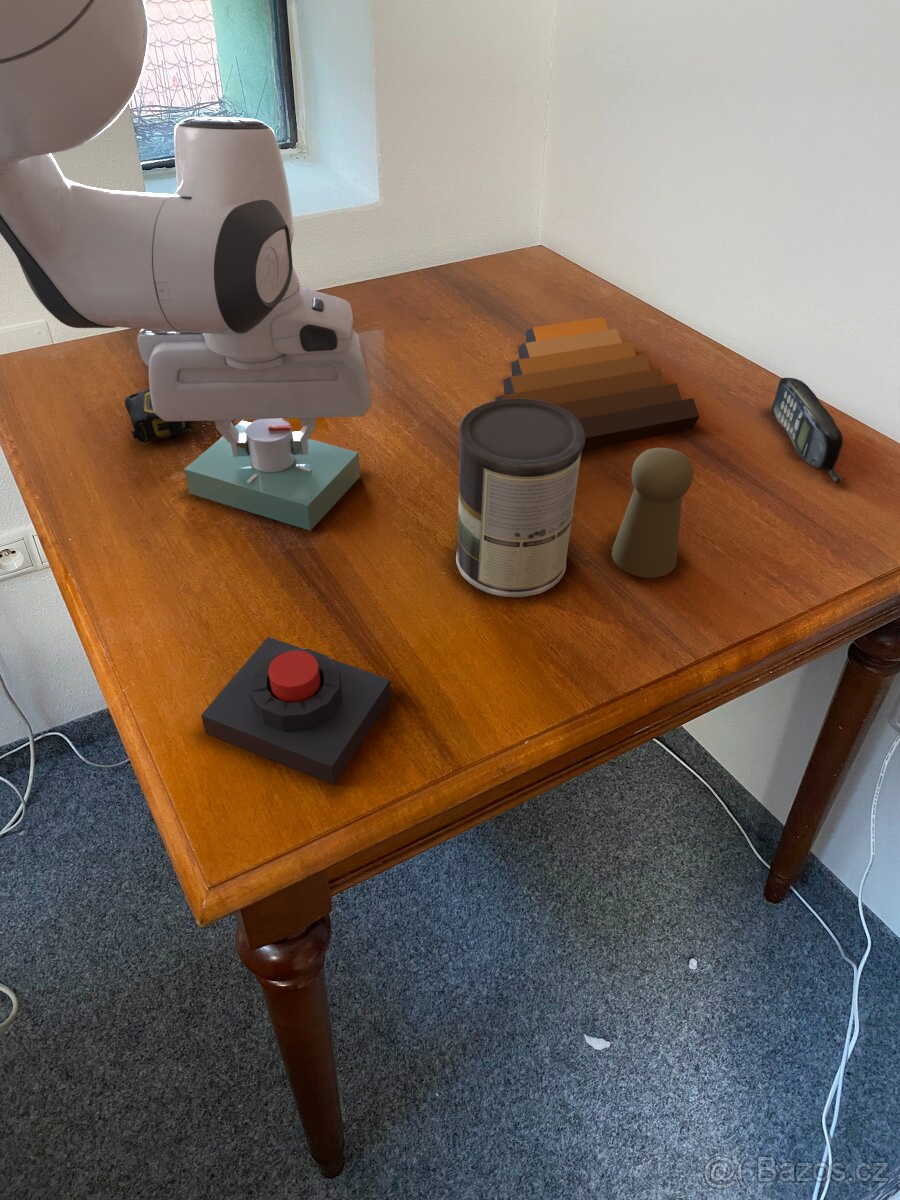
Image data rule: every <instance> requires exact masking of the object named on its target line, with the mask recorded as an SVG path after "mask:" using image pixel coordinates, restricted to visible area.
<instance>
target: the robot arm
mask: <svg viewBox="0 0 900 1200" xmlns="http://www.w3.org/2000/svg"><path fill="white" fill-rule="evenodd" d="M149 29H150V28H149V19H148V13H147V7H146V3H145V0H0V236H2V238H3V239H4V240H5V242H6V244H7V245H8V246H9V248H10V249H11V251H12V252H13V254H14V255H15V257H16V258H17V260H18V264H19V266H20V268H21V271H22V273H23V275H24V278H25V280H26V282H27V284H28V286H29V288H30V289H31V291H32V293H33V294H34V296H35V297H36V298H37V300H38V301H39V303H40V304H41V305H42V306H43V307H44V308H45V309H46V310H47V312H49V313H50V314H51V315H52V316H53V317H54V318H55V319H56V320H57V321H59V322H60V323H61V324H63V325H65V326H67V327H70V328H74V329H114V328H125V329H138V330H139V332H138V334H137V336H136V343H137V347H138V352H139V356H140V359H141V360H142V362H143V364H145V365H146V366H147V367H148V385H149V389H150V395H151V402H152V407H153V411H154V413H155V414H156V415H158V416H159V417H160V418H161V419H162V420H164V421H193V422H195V421H197V422H199V421H200V422H201V421H204V422H205V421H214V425H215V429H216V430H217V432H218V433H220V435H221V436H222V437H224V438H225V439H226V440H227V441H228V442H229V443H231V447H232V452H233V456H234V457H243V456H249V451H248V445H247V439H246V433H239V432H238V430H237V429H236V428H235V425H234V424H233V423H232V422H233V421H239V420H241V421H245V420H259V419H282V420H285V419H300V425H301V426H302V427H301V429H300V430H299V431H292V440H291V443H292V448H293V455H308V450H309V443H308V439H310V438H311V436H312V434H313V432H314V431H315V429H316V427H317V419H319V418H320V419H321V418H361V417H364V416H366V414H367V413H368V412H369V411H370V409H371V408H372V401H373V399H372V386H371V385H372V384H371V376H370V370H369V364H368V359H367V354H366V351H365V348H364V344H363V342H362V340H361V337H360V336H359V334H358V333H357V332H356V331H355V330H354V314H353V310H352V306H351V304H350V302H349V301H348V300H347V299H344V298H341V297H338V296H335V295H331V294H327V293H324V292H320V291H316V290H315V289H311V288H307V287H304V286H301V285H300V278H299V274H298V271H297V269H296V266H295V265H294V260H293V253H292V252H293V251H292V250H293V242H294V237H295V228H294V227H295V226H294V219H293V211H292V203H291V197H290V191H289V185H288V179H287V175H286V171H285V166H284V162H283V161H284V160H283V156H282V153H281V150H280V145H279V143H278V139H277V137H276V134H275V131H274V130H273V128H272V127H270V126H269V125H268V124H266V123H265V122H263V121H261V120H258V119H255V118H248V117H233V116H208V115H201V116H193V117H187V118H184V119H183V120H181V121H180V122H178V123H176V125H175V126H174V133H173V134H174V135H173V141H174V142H173V143H174V162H175V163H174V164H175V173H176V174H175V175H176V185H177V189H176V191H175V193H174V194H170V193H169V194H168V193H156V192H155V193H153V192H138V191H125V190H123V191H122V190H110V189H103V188H97V187H91V186H87V185H84V184H80V183H77V182H74V181H72V180H69V179H67V177H65V176H64V175H63V172H62V170H61V169H60V167H59V165H58V164H57V161H56V160H55V158H54V157H53V155H52V154H58V153H63V152H67V151H70V150H74V149H76V148H79V147H81V146H83V145H86V144H87V143H89V142H90V141H92V140H94V139H95V138H96V137H98V136H99V135H101V134H102V133H103V132H105V130H107V129H108V128H109V127H110V126H111V125H112V124H113V123H114V122H115V121H116V120H117V119H118V118H119V117H120V116H121V114H122V113H123V111H124V110H125V109H126V107H127V105H128V104H129V103H130V102H131V100H132V98H133V96H134V95H135V93H136V91H137V88H138V86H139V84H140V81H141V79H142V77H143V74H144V69H145V66H146V62H147V56H148V50H149V49H148V48H149V34H150V33H149V31H150V30H149Z"/></svg>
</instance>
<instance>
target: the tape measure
mask: <svg viewBox="0 0 900 1200" xmlns="http://www.w3.org/2000/svg"><path fill="white" fill-rule="evenodd" d="M124 406H125V409H126V411H127V414H128V416H129V418H130V422H131V424H132V428H133V430H131V431H130V433H131V435H132V438H133V440H137V441H138V442H139V443H142V444H146V443H149V442H153V440H154V439H170V438H174V437H176V436H180V435H181V434H183V433H184V432H186V431H188V429H189V428H190V427H191V426H192V424H193V422H194V421H164V420H162V419H161V418H160V417H159V416H158V415H156V414H155V413H154V411H153V407H152V402H151V395H150V388H146V389H144V390H142V391H139V392H135V393H133V394H130V395H128V396H126V397H125V399H124Z"/></svg>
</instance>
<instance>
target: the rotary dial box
mask: <svg viewBox="0 0 900 1200" xmlns="http://www.w3.org/2000/svg"><path fill="white" fill-rule="evenodd" d="M251 423H252V422H249V421H245V420H241V421H240V422H238V423H237V424H236V425H234V427H235V428H236V429H237V430H238V432H239V433H246V432H245V431H246V428H247V426H248V425H249V424H251ZM308 443H309V450H308V455H295V461H294V463H293V464H292V465H291V466H290V467H289V468H287V469H285V470H282V471H278V472H262V471H259V470H257V469H255V468H254V467H252V465H251V463H250V457H249V456H243V457H234V456H233V452H232V447H231V443H229V442H228V441H227V440H226V439H225V438H224V437H223V436H222V437H220V438H219V439H218V440H216V442H214V444H212V445H211V446H210V447H208V448H207V449H206V450H204V452H203V453H201V454H200V455H199V456H197V457H196V458H194V460H193V461H192V462H190V463H189V464H188V465H187V466H186V467H185V468H183V469H184V470H183V471H184V475H185V479H186V483H187V487H188V492H189V494H190V495H193V496H196V497H200V498H202V499H205V500H209V501H212V502H215V503H219V504H222V505H225V506H229V507H232V508H234V509H237V510H242V511H245V512H249V513H251V514H255V515H258V516H261V517H264V518H268V519H270V520H274V521H276V522H277V521H278V522H280V523H284V524H287V525H291V526H294V527H296V528H300V529H304V530H307V531H310V532H311V531H312V530H313V529H314V528H315V527H316V526H317V525H318V523H319V522H321V520H322V519H323V518H324V517H325V516H326V515H327V514H328V513H329V511H330V510H331V509H333V507H334V506H335V505H336V504H337V502H339V501H340V499H342V497H343V496H344V495H345V494H346V493H347V492H348V491H349V490H350V489H351V488H352V486H353V485H354V484H355V483H356V482H357V481H358V480H359V479H360V478H361V466H360V465H361V463H360V451H355V450H351V449H348V448H344V447H340V446H337V445H333V444H331V443H330V444H329V443H326V442H322V441H319V440H316V439H315V440H314V439H311V438H309V439H308Z"/></svg>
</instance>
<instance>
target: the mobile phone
mask: <svg viewBox="0 0 900 1200" xmlns="http://www.w3.org/2000/svg"><path fill="white" fill-rule="evenodd" d="M771 413H772V415H773V416H774V418H775V419H776V421H777V422H778V423H779V425H780V426H781V428H782V429H783V430H784V432H785V433H786V435H787V436H788V437H789V439H790V441H791V443H792V445H793V447H794V448H795V450H796V453H797V454H798V456H799V457H800V458H801V459H802V460H803V461H804V462H805V463H807V465H810V466H811V467H812V468H813V469H814V470H817V471H824V472H826V473H827V475H829V477H830V478H831V479H832V480H833V482H835V483H836V484H839V483H841V482H842V478H841V476H840V475H839V474H838V473H837V472H836V464H837V462H838V459H839V457H840V455H841V452H842V448H843V442H844V441H843V440H844V438H843V433H842V432H841V431H840V429H839V427H838V426H837V424H836V421H835V419H834V418H833V416H832V415H831V414H830V412H829V411H828V410H827V409H826V407H825V406H824V405H823V404H822V402H821V401H820V400H819V398H818V397H817V395H816V394H815V393H814V391H813V390H812V389H811V388H810V387H809V386H808V385H807V384H806V383H805V382H804V381H802V380H800V379H798V378H795V377H782V378H780V380H779V382H778V385H777V389H776V392H775V396H774V398H773V402H772V406H771Z"/></svg>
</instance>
